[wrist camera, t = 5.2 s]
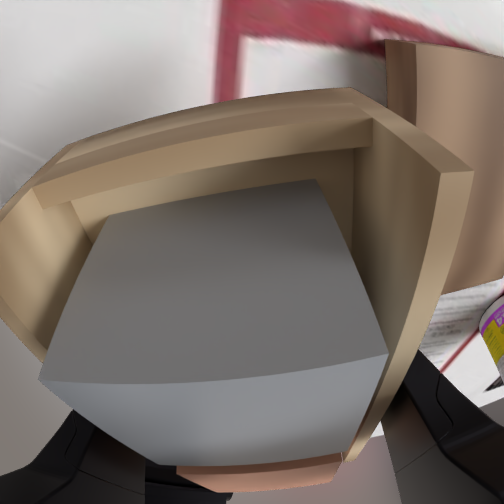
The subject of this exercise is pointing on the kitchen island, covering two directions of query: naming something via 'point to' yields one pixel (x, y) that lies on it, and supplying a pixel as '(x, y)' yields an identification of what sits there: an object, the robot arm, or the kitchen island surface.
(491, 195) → the plate
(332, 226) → the block
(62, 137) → the kitchen island surface
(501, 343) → the supplement bottle
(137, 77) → the kitchen island surface
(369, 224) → the wooden tray
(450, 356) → the kitchen island surface
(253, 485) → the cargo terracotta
